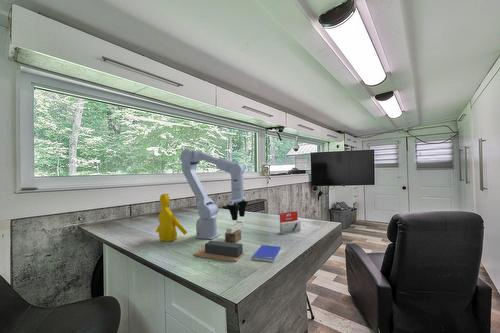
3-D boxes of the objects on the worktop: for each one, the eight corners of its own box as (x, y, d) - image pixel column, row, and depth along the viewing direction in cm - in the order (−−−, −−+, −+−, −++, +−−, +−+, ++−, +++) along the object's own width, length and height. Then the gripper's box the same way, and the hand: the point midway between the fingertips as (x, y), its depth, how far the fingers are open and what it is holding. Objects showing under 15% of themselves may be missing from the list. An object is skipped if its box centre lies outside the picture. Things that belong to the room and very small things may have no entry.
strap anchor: (225, 242, 95) (225, 233, 95) (231, 237, 101) (231, 229, 101) (235, 243, 93) (235, 233, 93) (241, 238, 99) (240, 230, 99)
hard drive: (274, 259, 73) (281, 246, 85) (251, 256, 76) (261, 244, 87) (274, 263, 73) (281, 250, 85) (251, 261, 76) (261, 248, 87)
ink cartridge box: (301, 231, 108) (300, 211, 109) (282, 234, 104) (281, 214, 104) (297, 229, 111) (297, 210, 111) (279, 233, 106) (279, 213, 106)
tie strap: (226, 233, 94) (225, 226, 94) (238, 225, 106) (238, 220, 106) (232, 233, 93) (231, 227, 93) (244, 226, 105) (243, 220, 105)
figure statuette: (189, 238, 102) (188, 192, 102) (179, 244, 94) (178, 194, 95) (159, 236, 107) (157, 192, 108) (147, 241, 100) (146, 194, 100)
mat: (193, 255, 81) (193, 253, 81) (203, 249, 88) (203, 247, 88) (236, 261, 74) (236, 259, 74) (244, 254, 81) (244, 252, 81)
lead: (205, 253, 82) (204, 243, 82) (210, 249, 85) (210, 240, 85) (238, 257, 76) (237, 247, 76) (242, 253, 80) (242, 244, 80)
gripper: (238, 190, 92) (239, 222, 92) (251, 187, 105) (252, 215, 105) (224, 190, 94) (225, 221, 94) (238, 187, 108) (239, 214, 108)
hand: (238, 218), depth 100 cm, fingers open, 7 cm apart
